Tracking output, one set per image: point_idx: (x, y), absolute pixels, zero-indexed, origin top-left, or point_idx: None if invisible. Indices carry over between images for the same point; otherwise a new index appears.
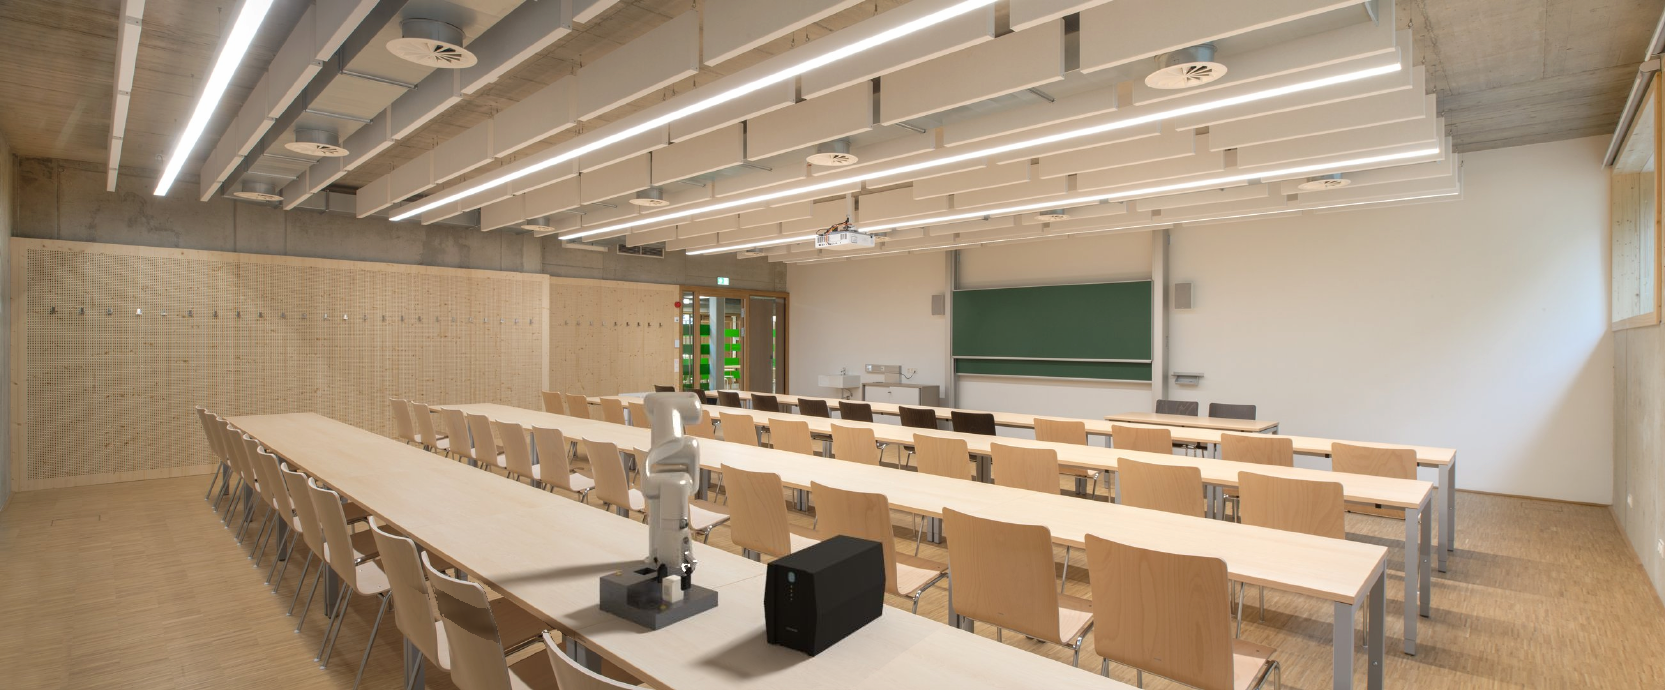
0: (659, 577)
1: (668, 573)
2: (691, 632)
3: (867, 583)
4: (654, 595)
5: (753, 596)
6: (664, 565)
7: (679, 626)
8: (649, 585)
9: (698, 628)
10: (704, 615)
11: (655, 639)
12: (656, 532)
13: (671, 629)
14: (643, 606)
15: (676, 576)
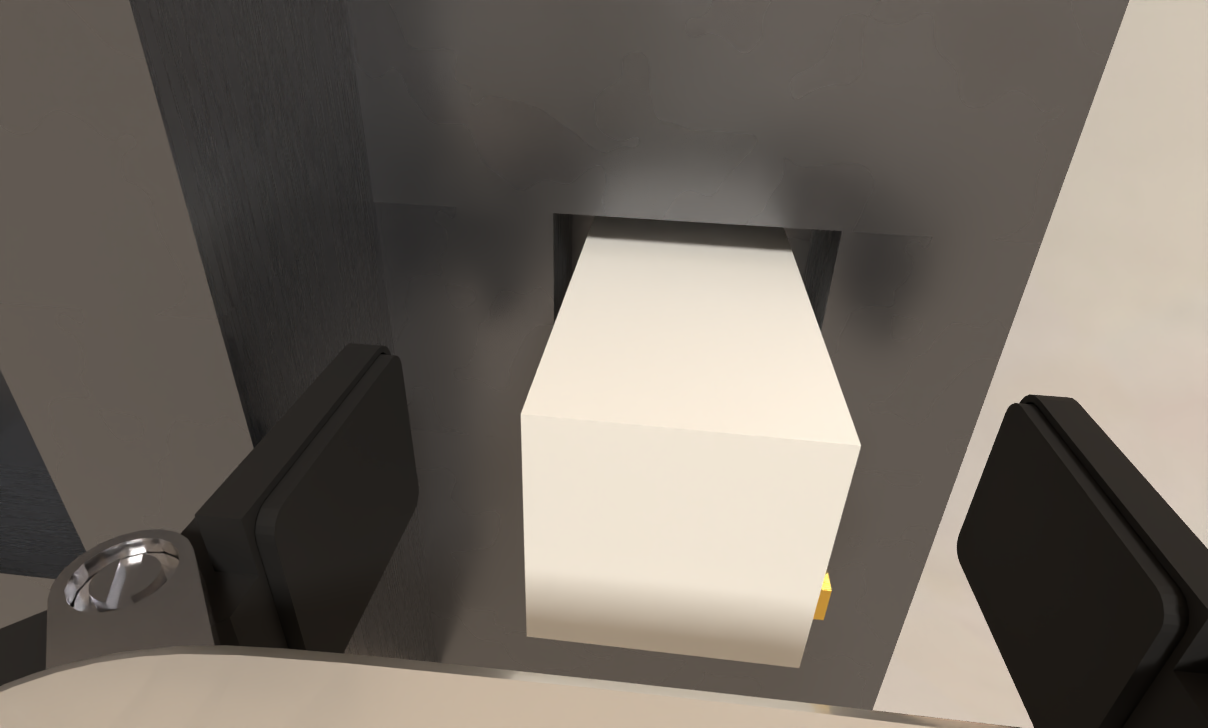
0: (383, 560)
1: (220, 262)
2: (1175, 512)
3: None
4: (417, 405)
5: None
6: (236, 629)
7: (981, 474)
8: None
9: (1203, 426)
10: (1088, 133)
11: (950, 688)
12: None
13: (951, 541)
14: None
15: (657, 460)
